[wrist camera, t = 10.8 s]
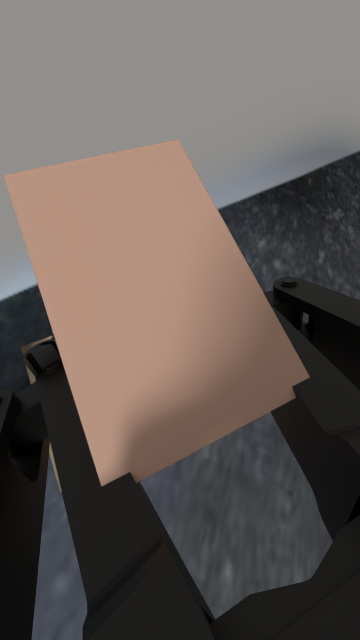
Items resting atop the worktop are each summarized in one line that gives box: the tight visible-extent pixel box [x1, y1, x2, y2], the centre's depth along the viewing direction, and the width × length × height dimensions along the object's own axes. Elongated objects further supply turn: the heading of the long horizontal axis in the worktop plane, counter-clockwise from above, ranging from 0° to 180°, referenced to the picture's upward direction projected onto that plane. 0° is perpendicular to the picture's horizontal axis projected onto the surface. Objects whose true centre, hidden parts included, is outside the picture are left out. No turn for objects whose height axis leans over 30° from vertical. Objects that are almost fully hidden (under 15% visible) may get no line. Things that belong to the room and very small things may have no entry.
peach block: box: [4, 139, 310, 486], centre depth 12 cm, size 5×8×14 cm, turn 24°
